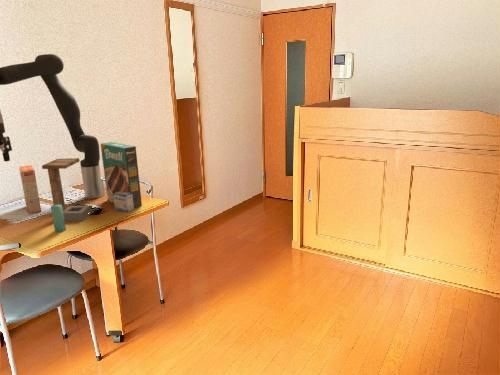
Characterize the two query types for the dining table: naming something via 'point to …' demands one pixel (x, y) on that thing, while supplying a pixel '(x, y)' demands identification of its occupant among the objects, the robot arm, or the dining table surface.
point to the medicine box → (123, 201)
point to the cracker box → (30, 189)
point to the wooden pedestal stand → (58, 178)
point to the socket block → (76, 213)
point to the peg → (58, 218)
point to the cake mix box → (121, 170)
